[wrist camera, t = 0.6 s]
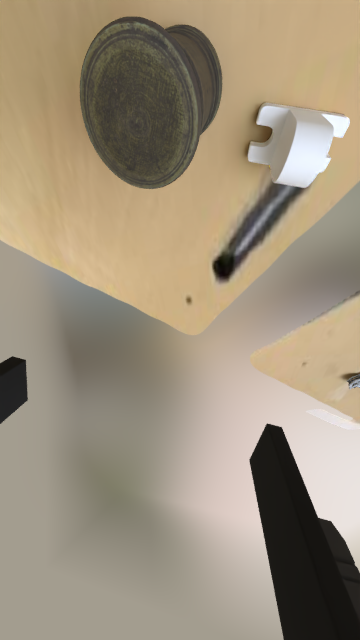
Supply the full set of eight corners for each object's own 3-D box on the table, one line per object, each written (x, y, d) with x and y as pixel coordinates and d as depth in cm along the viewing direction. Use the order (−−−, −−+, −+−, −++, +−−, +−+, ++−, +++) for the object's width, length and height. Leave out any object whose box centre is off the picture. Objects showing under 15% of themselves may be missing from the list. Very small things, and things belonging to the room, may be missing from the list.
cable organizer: (261, 101, 25) (265, 120, 19) (347, 114, 25) (380, 138, 19) (246, 156, 29) (246, 185, 23) (319, 168, 29) (339, 201, 23)
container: (139, 30, 23) (42, 19, 12) (226, 19, 21) (205, -4, 10) (153, 138, 30) (99, 194, 19) (219, 137, 28) (202, 195, 17)
